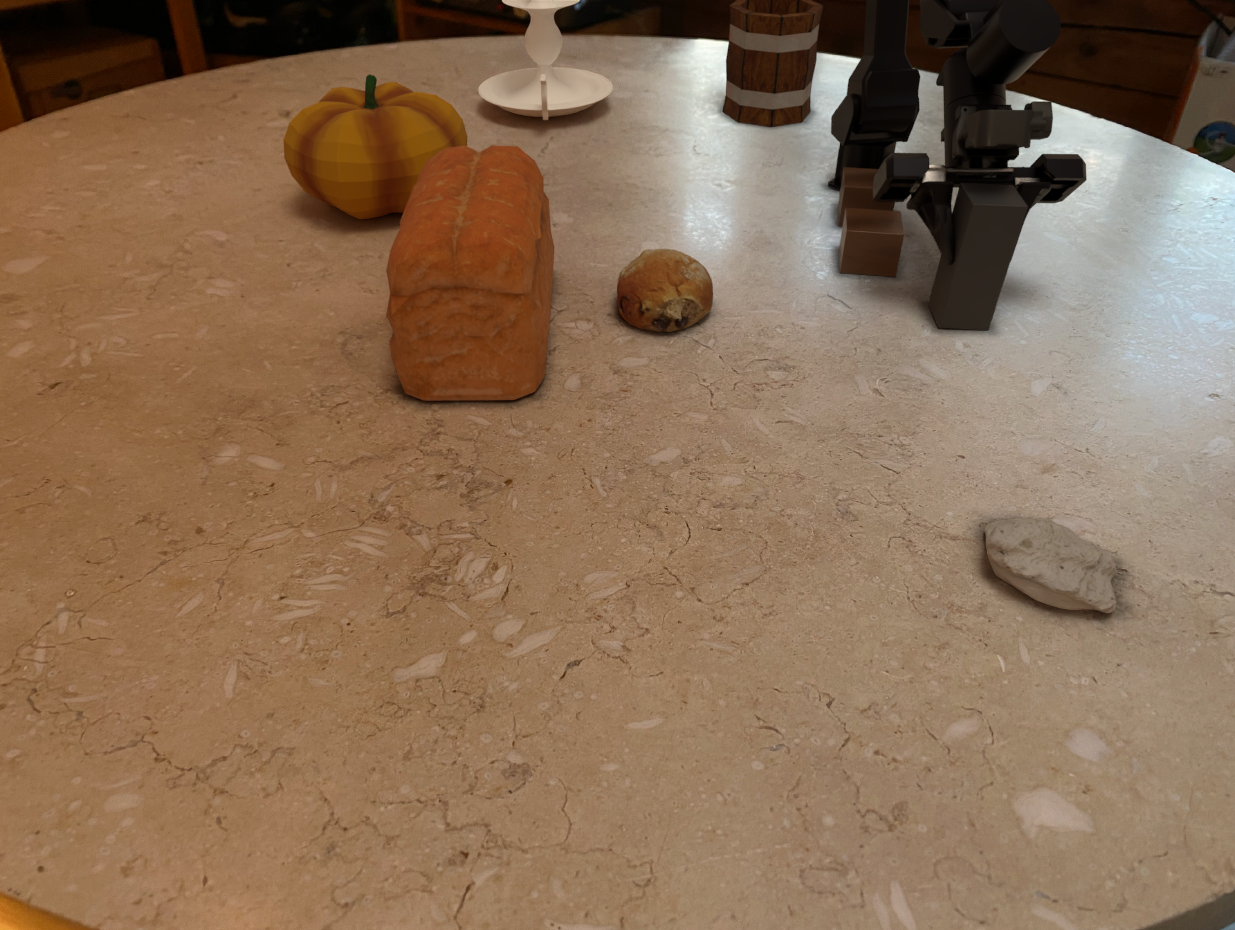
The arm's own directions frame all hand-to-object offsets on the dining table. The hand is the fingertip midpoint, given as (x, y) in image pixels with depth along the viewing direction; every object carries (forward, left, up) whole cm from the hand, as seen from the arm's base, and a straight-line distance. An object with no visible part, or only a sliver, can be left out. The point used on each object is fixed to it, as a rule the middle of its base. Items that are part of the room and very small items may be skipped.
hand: (978, 264), depth 90 cm
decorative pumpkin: (-69, -17, -7) cm, 71 cm away
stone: (+19, -29, -7) cm, 35 cm away
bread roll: (-25, -17, -7) cm, 31 cm away
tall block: (-1, +1, -7) cm, 7 cm away
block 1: (-20, +16, -7) cm, 27 cm away
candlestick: (-76, +20, -7) cm, 79 cm away
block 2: (-14, +6, -7) cm, 17 cm away
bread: (-37, -31, -7) cm, 49 cm away
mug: (-52, +44, -7) cm, 68 cm away
